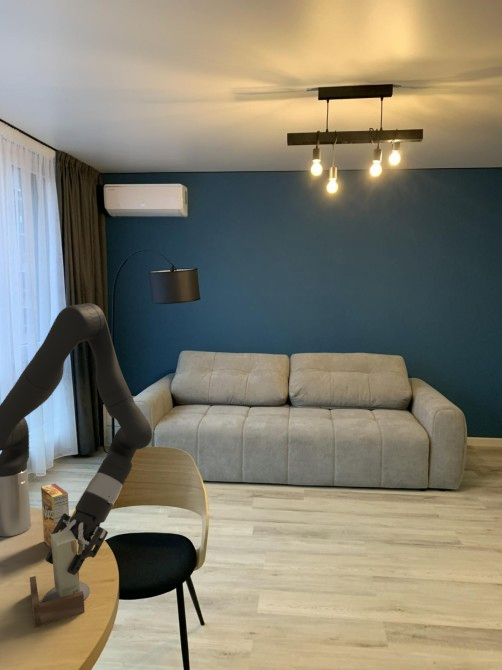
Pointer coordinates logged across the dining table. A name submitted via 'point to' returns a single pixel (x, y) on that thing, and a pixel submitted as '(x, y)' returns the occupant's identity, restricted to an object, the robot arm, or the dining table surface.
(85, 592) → the pad
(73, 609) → the corner guide
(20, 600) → the dining table surface
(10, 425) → the robot arm
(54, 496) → the candy box
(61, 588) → the skincare box
